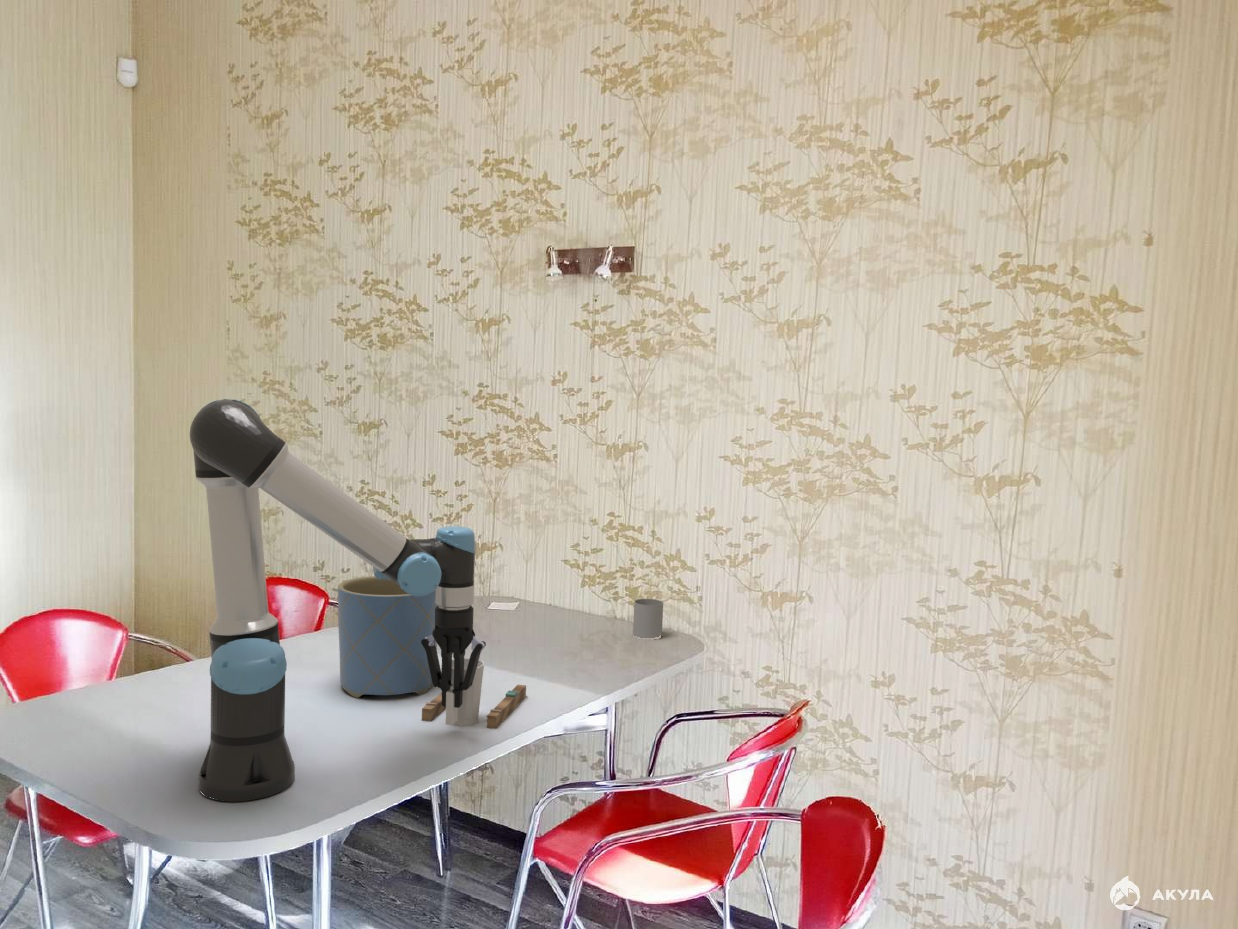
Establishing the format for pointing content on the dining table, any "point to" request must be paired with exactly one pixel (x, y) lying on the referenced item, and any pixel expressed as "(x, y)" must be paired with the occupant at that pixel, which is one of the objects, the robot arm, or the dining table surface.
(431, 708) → the channel
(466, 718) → the cup
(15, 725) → the dining table surface
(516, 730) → the dining table surface
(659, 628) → the cup
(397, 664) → the planter
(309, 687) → the dining table surface
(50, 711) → the dining table surface
